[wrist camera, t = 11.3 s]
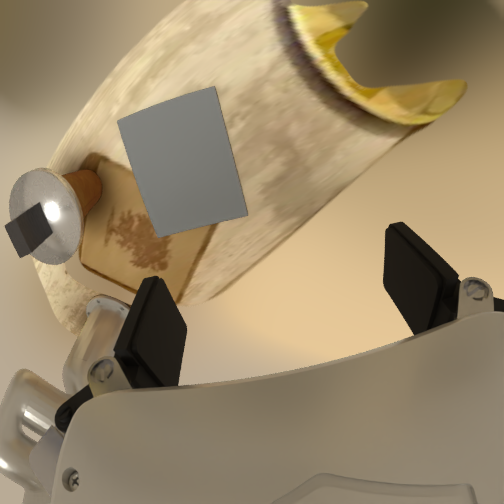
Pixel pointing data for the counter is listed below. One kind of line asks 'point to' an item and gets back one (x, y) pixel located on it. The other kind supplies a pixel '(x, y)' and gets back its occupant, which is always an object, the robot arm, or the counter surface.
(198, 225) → the mat
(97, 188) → the disposable coffee cup
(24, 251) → the lid
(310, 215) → the counter surface
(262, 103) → the counter surface
